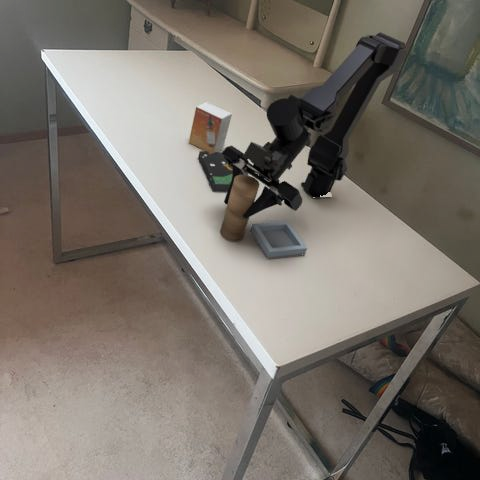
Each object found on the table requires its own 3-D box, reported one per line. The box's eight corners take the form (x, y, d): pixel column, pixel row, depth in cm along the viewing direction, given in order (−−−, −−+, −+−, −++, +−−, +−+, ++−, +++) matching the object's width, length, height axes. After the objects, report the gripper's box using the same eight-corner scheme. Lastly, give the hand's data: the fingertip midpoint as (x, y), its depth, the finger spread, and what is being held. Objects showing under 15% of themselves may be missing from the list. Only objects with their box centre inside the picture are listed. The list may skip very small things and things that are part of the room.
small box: (188, 143, 122) (195, 106, 115) (199, 136, 126) (206, 100, 120) (213, 155, 120) (222, 118, 114) (223, 148, 124) (232, 112, 118)
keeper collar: (285, 228, 103) (288, 221, 101) (304, 255, 97) (307, 248, 95) (249, 230, 99) (252, 223, 97) (267, 259, 93) (269, 251, 91)
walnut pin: (238, 225, 99) (253, 174, 91) (247, 240, 96) (263, 189, 88) (216, 226, 97) (230, 174, 89) (225, 242, 94) (240, 189, 86)
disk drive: (196, 160, 117) (212, 193, 107) (198, 150, 116) (214, 183, 105) (233, 161, 121) (252, 194, 111) (236, 152, 120) (255, 184, 109)
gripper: (238, 107, 88) (186, 169, 88) (314, 154, 81) (258, 222, 80) (253, 136, 99) (207, 192, 98) (322, 180, 91) (273, 241, 90)
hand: (234, 210), depth 91 cm, fingers closed on walnut pin, 5 cm apart
